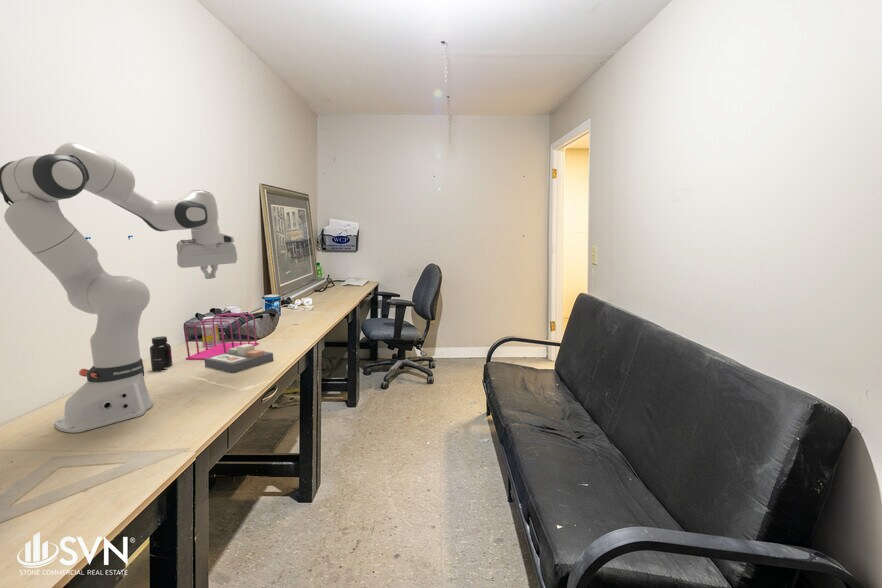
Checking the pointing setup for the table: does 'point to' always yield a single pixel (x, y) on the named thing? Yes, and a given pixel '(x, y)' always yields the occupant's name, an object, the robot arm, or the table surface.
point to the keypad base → (236, 362)
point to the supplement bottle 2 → (210, 333)
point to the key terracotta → (254, 353)
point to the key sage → (233, 350)
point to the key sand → (244, 349)
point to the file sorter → (220, 347)
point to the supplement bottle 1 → (160, 354)
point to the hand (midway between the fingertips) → (210, 278)
